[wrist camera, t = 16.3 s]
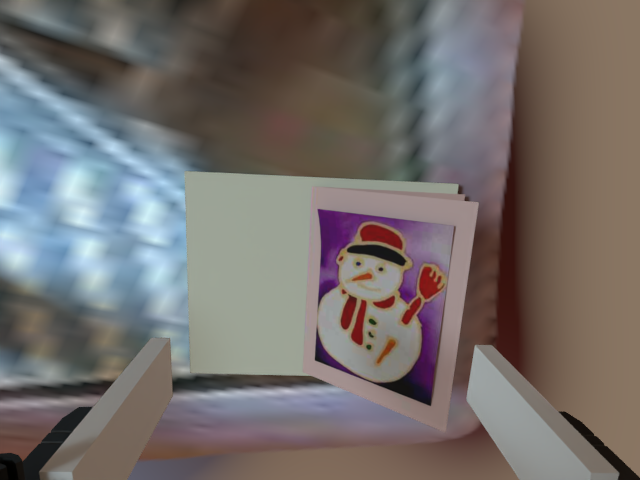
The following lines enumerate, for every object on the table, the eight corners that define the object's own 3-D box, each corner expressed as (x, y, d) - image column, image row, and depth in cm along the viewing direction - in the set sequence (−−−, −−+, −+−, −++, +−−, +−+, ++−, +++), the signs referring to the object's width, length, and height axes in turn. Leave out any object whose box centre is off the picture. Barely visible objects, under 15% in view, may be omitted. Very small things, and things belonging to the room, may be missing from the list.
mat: (192, 369, 30) (190, 372, 29) (186, 171, 27) (184, 171, 26) (432, 375, 31) (434, 378, 30) (455, 183, 27) (458, 184, 27)
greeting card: (296, 376, 29) (305, 186, 26) (342, 341, 35) (353, 184, 32) (441, 440, 23) (475, 203, 20) (466, 384, 29) (495, 197, 26)
